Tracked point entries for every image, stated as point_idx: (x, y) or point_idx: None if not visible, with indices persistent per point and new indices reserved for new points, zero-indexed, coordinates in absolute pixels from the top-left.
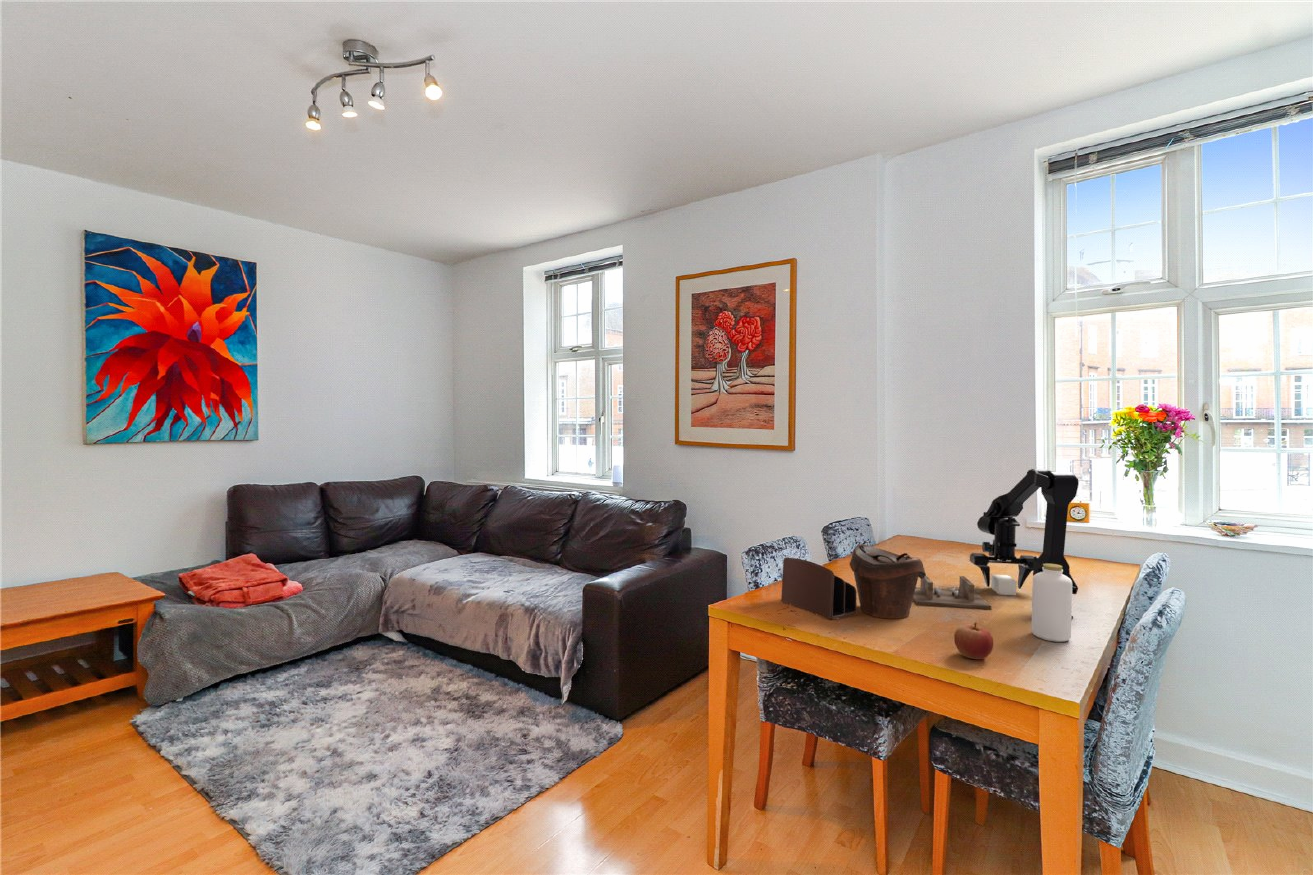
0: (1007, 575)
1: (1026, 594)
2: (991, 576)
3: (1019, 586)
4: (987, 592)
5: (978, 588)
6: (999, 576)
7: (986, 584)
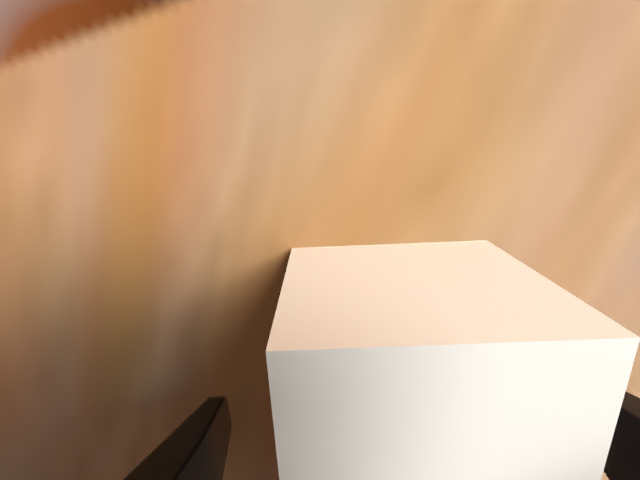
0: (608, 356)
1: None
2: (272, 339)
3: None
4: None
5: (145, 321)
6: (390, 473)
7: (198, 415)
